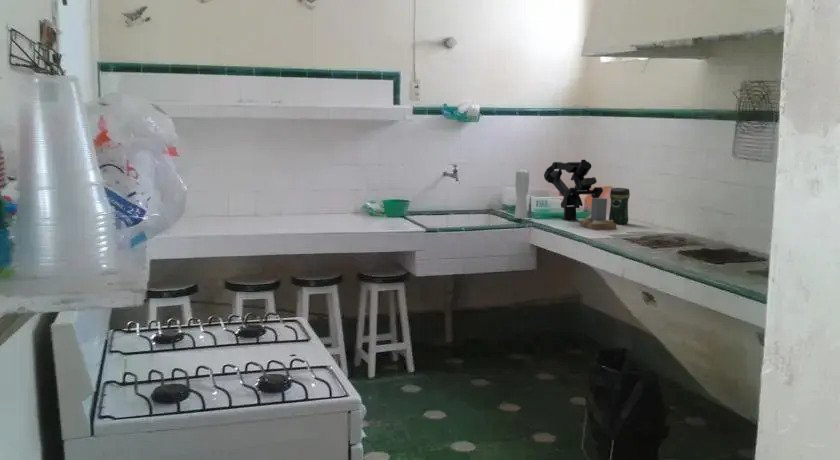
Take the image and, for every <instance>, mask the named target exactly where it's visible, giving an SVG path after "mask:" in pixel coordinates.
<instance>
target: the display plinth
mask: <svg viewBox="0 0 840 460" xmlns="http://www.w3.org/2000/svg"><path fill="white" fill-rule="evenodd" d="M579 226H580V227H584V228H588V229H591V230H594V231H596V230H598V231H599V230H601V231H602V230H616V229H617V224H614V223H613V220H609V219H606V220H597V221H592V222H591V217H584V218H583V219H582V220H580V221H579Z"/></svg>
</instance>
